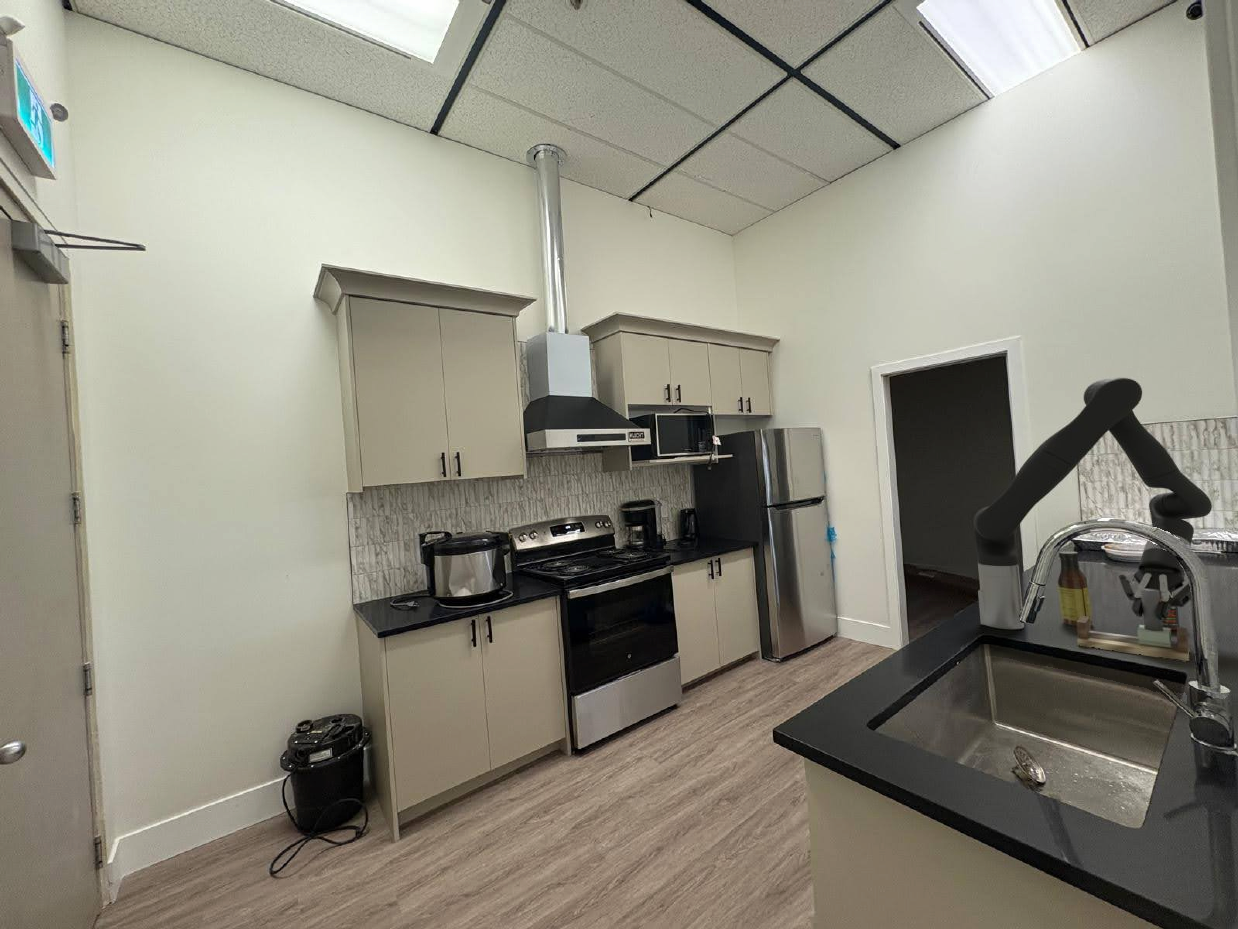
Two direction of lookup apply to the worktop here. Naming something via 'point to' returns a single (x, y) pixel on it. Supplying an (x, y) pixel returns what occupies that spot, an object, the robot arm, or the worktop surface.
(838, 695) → the worktop surface
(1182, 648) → the rail board
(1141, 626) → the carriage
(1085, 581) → the sauce bottle
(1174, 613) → the supplement bottle
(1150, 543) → the robot arm
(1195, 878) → the worktop surface
